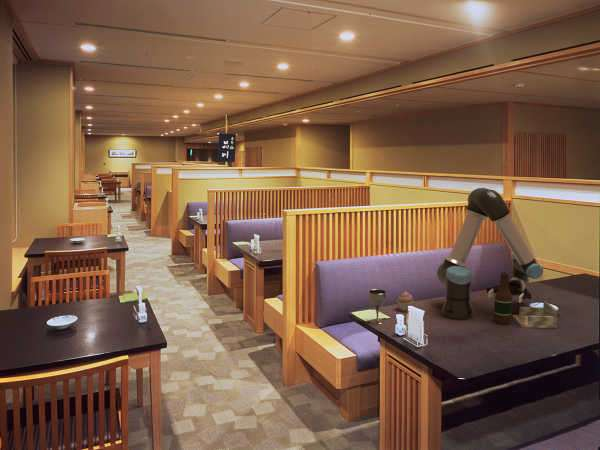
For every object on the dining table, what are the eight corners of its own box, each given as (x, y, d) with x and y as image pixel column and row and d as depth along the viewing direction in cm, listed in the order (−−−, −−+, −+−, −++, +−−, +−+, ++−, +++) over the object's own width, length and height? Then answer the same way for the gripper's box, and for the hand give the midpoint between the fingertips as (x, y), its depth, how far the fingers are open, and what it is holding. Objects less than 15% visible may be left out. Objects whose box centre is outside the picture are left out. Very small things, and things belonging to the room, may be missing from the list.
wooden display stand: (521, 327, 218) (522, 310, 216) (512, 317, 231) (513, 300, 230) (556, 328, 216) (557, 310, 215) (545, 317, 229) (546, 301, 228)
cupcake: (410, 306, 251) (411, 288, 249) (417, 312, 242) (417, 293, 240) (393, 307, 250) (394, 289, 248) (399, 313, 240) (399, 294, 239)
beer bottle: (513, 325, 221) (515, 275, 217) (495, 324, 222) (497, 274, 219) (509, 319, 228) (511, 271, 225) (492, 318, 230) (494, 270, 226)
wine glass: (381, 325, 224) (382, 294, 222) (366, 322, 229) (366, 292, 226) (388, 320, 231) (388, 290, 229) (373, 317, 235) (373, 288, 233)
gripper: (541, 297, 232) (532, 309, 215) (489, 289, 247) (476, 300, 230) (542, 282, 231) (533, 293, 214) (489, 275, 246) (477, 285, 229)
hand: (504, 297), depth 222 cm, fingers open, 13 cm apart
